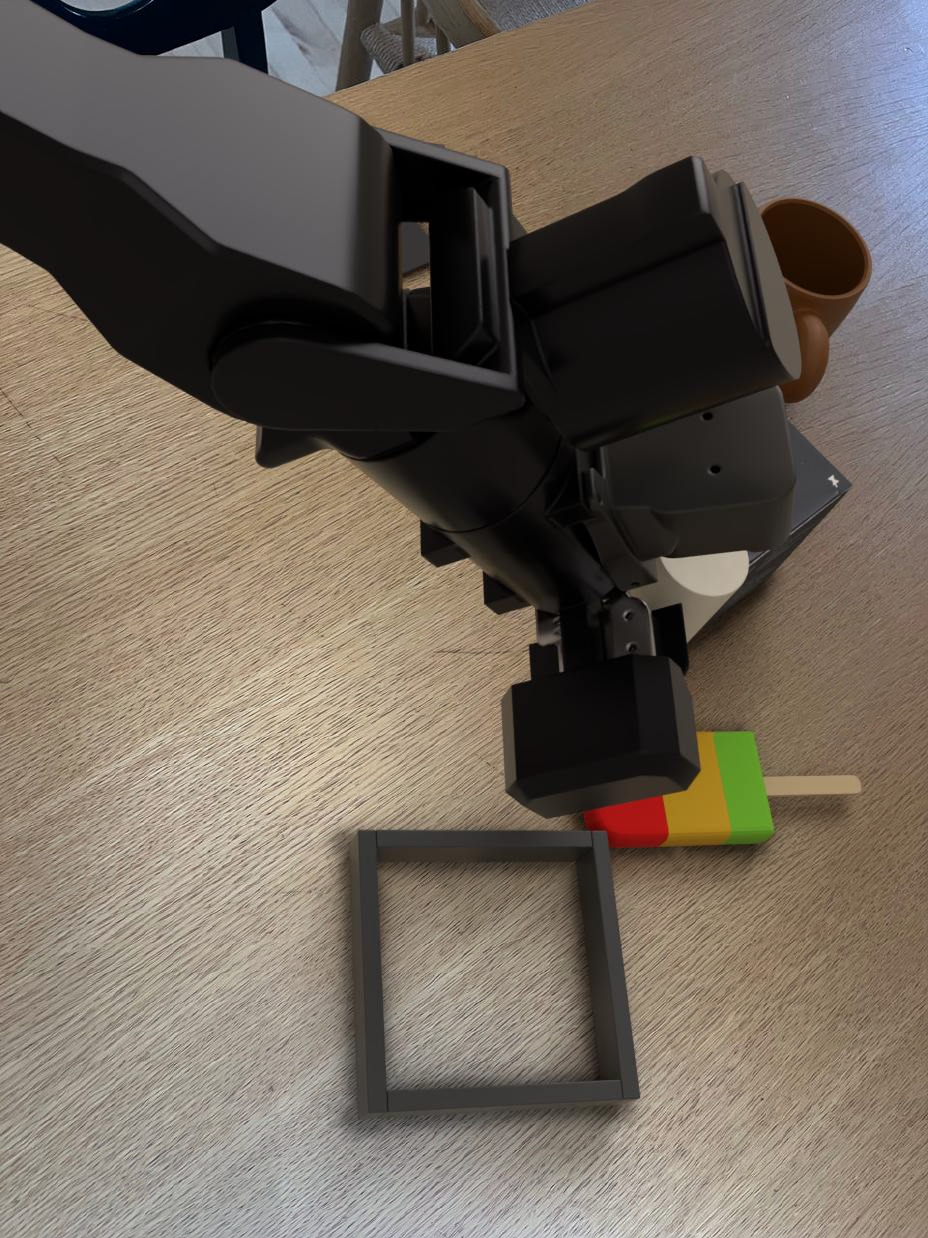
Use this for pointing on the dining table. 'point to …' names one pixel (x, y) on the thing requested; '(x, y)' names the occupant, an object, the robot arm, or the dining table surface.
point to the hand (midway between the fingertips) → (669, 632)
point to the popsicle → (713, 800)
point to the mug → (816, 278)
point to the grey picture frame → (601, 959)
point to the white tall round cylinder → (695, 585)
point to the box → (796, 513)
